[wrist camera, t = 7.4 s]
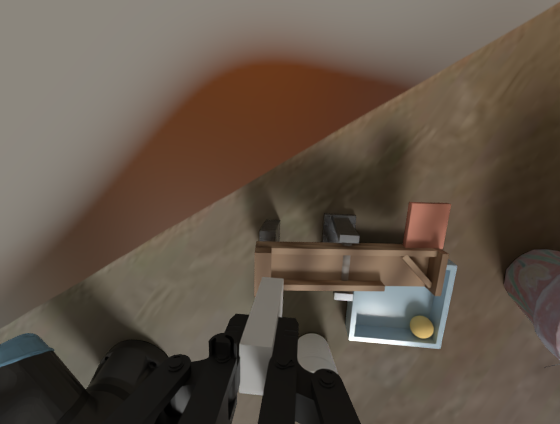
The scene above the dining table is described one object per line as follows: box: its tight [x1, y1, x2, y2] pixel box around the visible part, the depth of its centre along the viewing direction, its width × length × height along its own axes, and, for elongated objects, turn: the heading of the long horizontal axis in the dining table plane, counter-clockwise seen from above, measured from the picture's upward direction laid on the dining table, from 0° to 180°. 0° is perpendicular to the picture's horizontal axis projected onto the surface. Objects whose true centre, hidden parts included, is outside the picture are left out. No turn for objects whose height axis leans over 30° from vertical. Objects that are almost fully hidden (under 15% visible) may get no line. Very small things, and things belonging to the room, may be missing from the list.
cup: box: [297, 333, 339, 375], centre depth 44 cm, size 10×10×11 cm
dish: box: [345, 259, 457, 349], centre depth 43 cm, size 15×15×4 cm
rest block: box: [259, 220, 280, 242], centre depth 42 cm, size 2×6×6 cm, turn 178°
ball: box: [410, 315, 434, 338], centre depth 44 cm, size 4×4×4 cm
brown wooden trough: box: [254, 202, 451, 297], centre depth 34 cm, size 24×12×4 cm, turn 88°
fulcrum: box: [322, 213, 359, 301], centre depth 39 cm, size 5×10×10 cm, turn 178°
